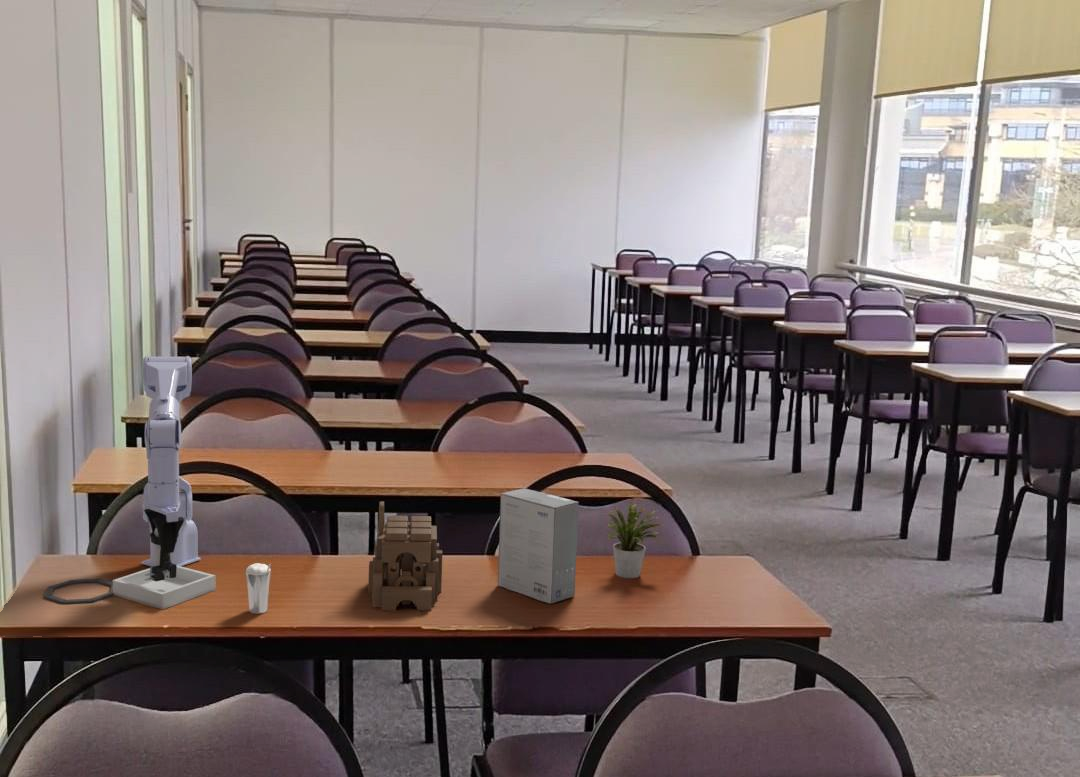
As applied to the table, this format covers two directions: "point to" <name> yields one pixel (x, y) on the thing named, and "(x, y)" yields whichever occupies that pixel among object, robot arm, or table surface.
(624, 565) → the house plant
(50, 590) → the seat ring
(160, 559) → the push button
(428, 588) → the wooden puzzle
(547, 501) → the hard drive box
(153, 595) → the tray
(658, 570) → the table surface
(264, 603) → the milkshake
